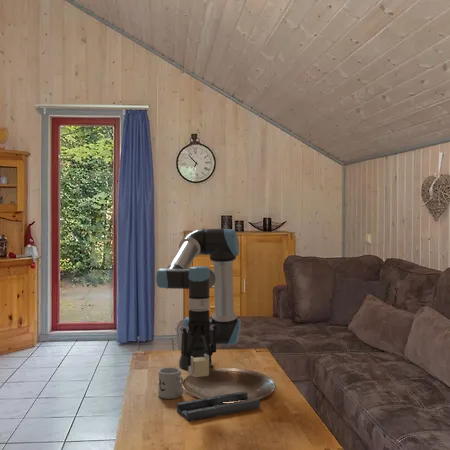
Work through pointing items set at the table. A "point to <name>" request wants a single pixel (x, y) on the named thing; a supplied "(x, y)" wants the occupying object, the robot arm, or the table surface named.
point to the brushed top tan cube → (200, 367)
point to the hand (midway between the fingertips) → (198, 373)
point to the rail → (216, 406)
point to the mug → (170, 383)
